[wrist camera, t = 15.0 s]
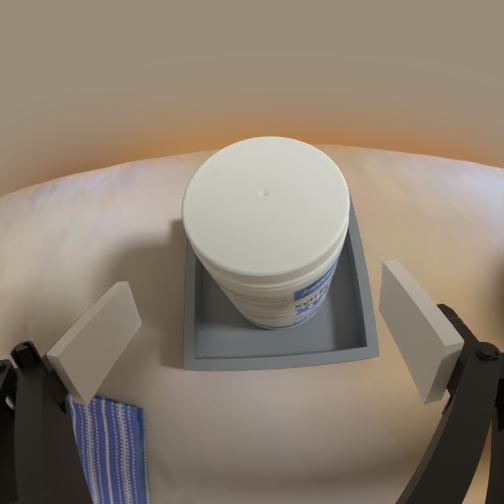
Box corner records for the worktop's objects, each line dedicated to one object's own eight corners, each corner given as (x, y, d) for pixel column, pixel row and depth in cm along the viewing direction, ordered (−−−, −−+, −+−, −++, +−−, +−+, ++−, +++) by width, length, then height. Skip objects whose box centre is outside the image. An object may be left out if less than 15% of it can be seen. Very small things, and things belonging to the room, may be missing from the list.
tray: (344, 205, 32) (348, 188, 29) (369, 358, 24) (379, 356, 21) (199, 220, 33) (190, 205, 30) (195, 370, 26) (183, 369, 23)
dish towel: (21, 368, 29) (7, 365, 27) (148, 403, 26) (135, 404, 23) (26, 467, 22) (13, 468, 20) (155, 527, 19) (144, 536, 16)
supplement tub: (316, 340, 25) (341, 302, 12) (219, 318, 27) (151, 261, 14) (334, 246, 29) (357, 143, 16) (245, 231, 31) (210, 128, 18)
